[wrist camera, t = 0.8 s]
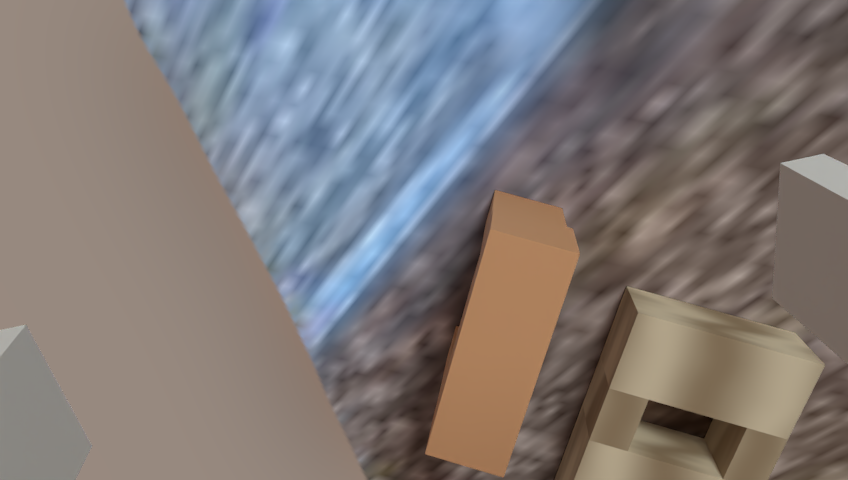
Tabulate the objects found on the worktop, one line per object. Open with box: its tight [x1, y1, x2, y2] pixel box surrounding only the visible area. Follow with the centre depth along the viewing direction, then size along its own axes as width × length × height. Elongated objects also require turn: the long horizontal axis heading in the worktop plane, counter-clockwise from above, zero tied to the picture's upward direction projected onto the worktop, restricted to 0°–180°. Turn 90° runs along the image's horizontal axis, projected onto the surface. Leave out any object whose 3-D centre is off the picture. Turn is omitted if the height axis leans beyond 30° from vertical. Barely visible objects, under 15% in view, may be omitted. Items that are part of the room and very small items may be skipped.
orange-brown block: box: [425, 190, 580, 478], centre depth 35 cm, size 12×4×10 cm, turn 166°
